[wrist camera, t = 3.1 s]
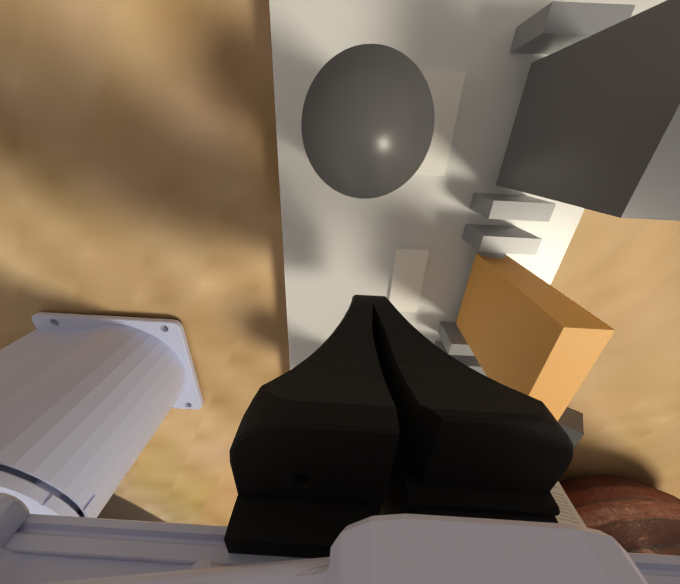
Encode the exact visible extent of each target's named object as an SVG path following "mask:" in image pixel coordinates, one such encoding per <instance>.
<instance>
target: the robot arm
mask: <svg viewBox="0 0 680 584" xmlns="http://www.w3.org/2000/svg"><path fill="white" fill-rule="evenodd" d="M31 319H32V322H33V324H34V325H35V327H36V329H35V330H34V331H32V332H30V333H28V334H27V335H25V336H23V337H21V338H20V339H18V340H16V341H15V342H13V343H11V344H9V345H8V346H6V347H4V348H2V349H1V350H0V584H680V556H674V555H659V554H643V553H628V552H626V550H625V549H624V548H623V547H622V546H621V545H620V544H619V543H618V542H617V541H616V540H615V539H614V538H613V537H612V536H610V535H608V534H606V533H604V532H602V531H600V530H595V529H591V528H586V527H582V526H577V525H572V524H563V523H558V521H557V519H556V517H555V516H558V515H559V514H560V509H559V506H558V505H557V503H556V501H555V499H554V498H553V496H552V494H551V492H550V491H551V490H552V488H553V487H554V486H555V484H556V483H557V482H558V480H559V479H560V478H561V476H562V475H563V473H564V472H565V471H566V469H567V468H568V466H569V464H570V462H571V460H572V457H573V444H572V442H571V440H570V438H569V436H568V435H567V433H566V432H565V431H564V429H563V428H562V427H561V425H560V424H559V423H558V421H557V420H556V419H555V417H554V416H553V415H552V413H551V412H550V411H549V409H548V408H547V407H546V406H545V404H544V403H543V402H542V401H540V400H538V399H535V398H533V397H531V396H528V395H526V394H524V393H521V392H519V391H517V390H514V389H512V388H510V387H507V386H505V385H503V384H501V383H499V382H497V381H495V380H493V379H491V378H489V377H487V376H485V375H483V374H481V373H479V372H477V371H475V370H474V369H472V368H470V367H468V366H467V365H465V364H463V363H462V362H460V361H458V360H457V359H455V358H454V357H452V356H450V355H449V354H447V353H446V352H444V351H443V350H442V349H440V348H439V347H438V346H436V345H435V344H434V343H432V342H431V341H430V340H428V339H427V338H426V337H425V336H424V335H422V334H421V333H420V332H419V331H418V330H417V329H416V328H415V327H413V326H412V325H411V324H410V323H409V322H408V321H407V320H406V319H405V318H404V317H403V316H402V314H401V313H400V312H399V311H398V310H397V309H396V308H395V307H394V306H393V304H392V303H391V302H390V301H389V300H388V299H387V297H386V296H372V295H354V296H353V297H352V301H351V304H350V306H349V308H348V310H347V312H346V314H345V316H344V317H343V319H342V321H341V322H340V323H339V325H338V326H337V328H336V329H335V330H334V332H333V333H332V334H331V335H330V336H329V338H328V339H327V340H326V341H325V342H324V343H323V344H322V345H321V346H320V347H319V348H318V349H317V350H316V351H315V352H314V353H312V354H311V355H310V356H309V357H308V358H306V359H305V360H304V361H302V362H301V363H300V364H298V365H297V366H295V367H294V368H293V369H291V370H290V371H288V372H286V373H285V374H283V375H281V376H279V377H277V378H276V379H274V380H272V381H270V382H268V383H266V384H264V385H262V386H261V387H260V389H259V390H258V392H257V394H256V395H255V397H254V398H253V400H252V402H251V404H250V405H249V407H248V409H247V411H246V412H245V414H244V416H243V418H242V420H241V423H240V425H239V428H238V430H237V433H236V436H235V438H234V441H233V443H232V446H231V449H230V464H231V468H232V472H233V476H234V480H235V484H236V488H237V492H238V496H237V500H236V503H235V506H234V509H233V512H232V515H231V518H230V521H229V524H228V527H226V526H211V525H196V524H180V523H165V522H147V521H133V520H118V519H103V518H97V516H98V515H99V513H100V512H101V510H102V509H103V508H104V506H105V505H106V503H107V502H108V500H109V499H110V497H111V496H112V494H113V493H114V491H115V490H116V489H117V487H118V486H119V484H120V483H121V481H122V480H123V478H124V477H125V475H126V474H127V472H128V471H129V470H130V468H131V467H132V465H133V464H134V462H135V461H136V459H137V458H138V456H139V455H140V454H141V452H142V451H143V449H144V448H145V446H146V445H147V443H148V442H149V440H150V439H151V437H152V436H153V435H154V433H155V432H156V430H157V429H158V427H159V426H160V424H161V423H162V421H163V420H164V419H165V417H166V416H167V414H168V413H169V411H170V410H171V408H180V409H200V408H201V407H202V405H203V404H204V402H203V398H202V394H201V391H200V387H199V383H198V380H197V376H196V373H195V369H194V365H193V362H192V358H191V354H190V351H189V347H188V343H187V340H186V336H185V332H184V329H183V326H182V324H181V323H180V322H179V321H177V320H174V319H157V318H139V317H121V316H103V315H85V314H67V313H49V312H38V313H36V314H34V315H33V316H32V318H31ZM164 325H165V326H166V327H168V328H166V327H165V326H164Z"/></svg>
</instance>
